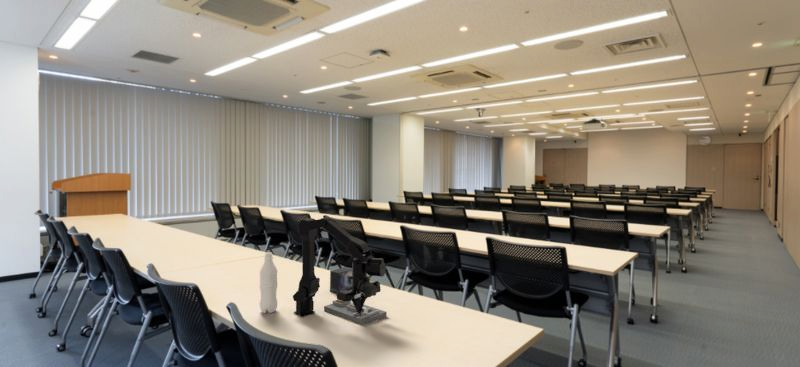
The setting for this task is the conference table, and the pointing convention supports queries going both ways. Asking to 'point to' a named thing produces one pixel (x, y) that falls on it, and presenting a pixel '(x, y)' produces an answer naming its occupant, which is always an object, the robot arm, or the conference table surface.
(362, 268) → the robot arm
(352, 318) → the control panel
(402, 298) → the conference table surface
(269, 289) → the water bottle
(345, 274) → the small box
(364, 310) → the block
